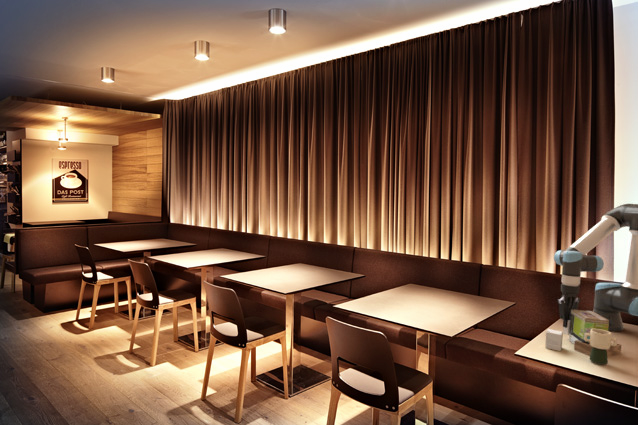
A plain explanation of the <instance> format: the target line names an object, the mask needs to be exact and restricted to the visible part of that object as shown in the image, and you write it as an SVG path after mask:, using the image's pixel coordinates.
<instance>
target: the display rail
mask: <svg viewBox="0 0 638 425" xmlns="http://www.w3.org/2000/svg"><path fill="white" fill-rule="evenodd" d="M622 346H623V345H622V344H619V343H616V346H610V348H609V349H606V350H607V356H608V357H610V356H612V357H613V356H618V355H621V354H622ZM573 347H574V348H573V350H574V351H576V352H579V353H582V354H584V355H587V356H589V357H590V354H591V350H592V348H593V346H591V345H589V344H586V343H583V342H580V341H577V340H576V341H575V344H574V346H573Z"/></svg>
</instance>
